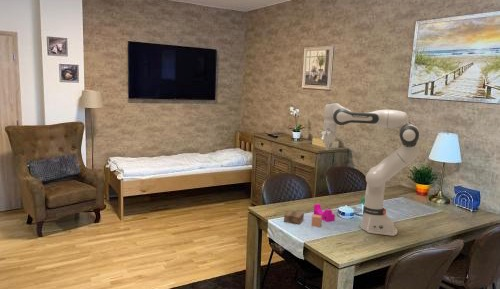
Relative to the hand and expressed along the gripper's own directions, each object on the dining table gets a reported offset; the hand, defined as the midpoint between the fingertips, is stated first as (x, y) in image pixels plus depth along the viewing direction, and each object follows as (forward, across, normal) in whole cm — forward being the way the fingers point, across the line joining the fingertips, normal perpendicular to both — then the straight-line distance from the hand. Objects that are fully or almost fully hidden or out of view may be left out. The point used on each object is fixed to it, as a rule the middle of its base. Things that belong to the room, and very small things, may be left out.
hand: (328, 149), depth 246 cm
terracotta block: (+47, -14, +1) cm, 49 cm away
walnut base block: (+48, -14, +16) cm, 52 cm away
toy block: (+48, +3, +1) cm, 48 cm away
